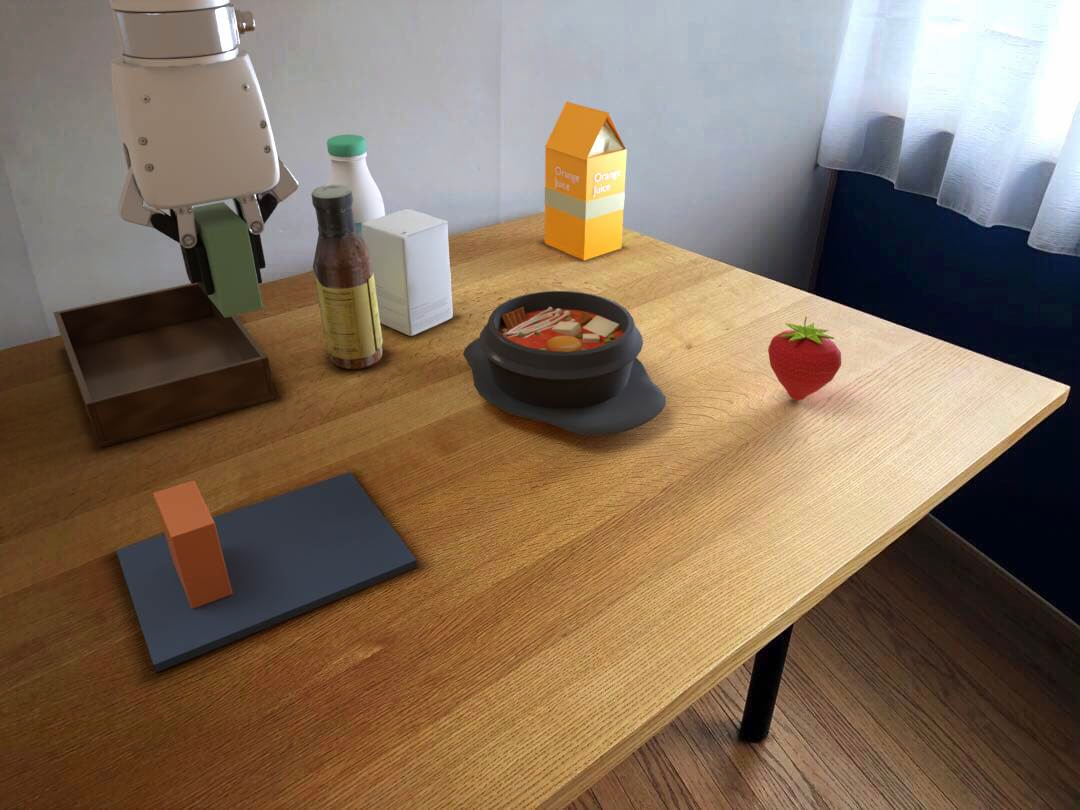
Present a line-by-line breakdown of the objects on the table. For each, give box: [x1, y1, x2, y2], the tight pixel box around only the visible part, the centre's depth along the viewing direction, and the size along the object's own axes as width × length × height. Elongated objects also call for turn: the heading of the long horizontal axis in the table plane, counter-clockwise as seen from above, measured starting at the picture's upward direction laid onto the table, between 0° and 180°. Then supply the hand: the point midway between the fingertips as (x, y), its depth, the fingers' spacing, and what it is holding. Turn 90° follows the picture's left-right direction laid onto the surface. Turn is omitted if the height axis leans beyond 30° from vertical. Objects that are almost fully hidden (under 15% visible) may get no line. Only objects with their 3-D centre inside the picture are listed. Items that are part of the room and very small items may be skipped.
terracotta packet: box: [153, 480, 232, 609], centre depth 65 cm, size 3×6×7 cm, turn 32°
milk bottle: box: [326, 134, 386, 240], centre depth 109 cm, size 8×8×20 cm
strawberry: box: [767, 315, 842, 401], centre depth 88 cm, size 6×8×10 cm
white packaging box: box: [362, 208, 454, 337], centre depth 104 cm, size 7×7×13 cm
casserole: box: [462, 290, 667, 437], centre depth 90 cm, size 25×19×8 cm
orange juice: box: [544, 101, 628, 261], centre depth 123 cm, size 8×9×20 cm
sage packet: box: [193, 201, 264, 318], centre depth 67 cm, size 3×6×7 cm, turn 33°
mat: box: [115, 471, 418, 673], centre depth 69 cm, size 20×14×1 cm
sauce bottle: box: [311, 185, 384, 370], centre depth 93 cm, size 6×6×20 cm
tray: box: [52, 282, 277, 449], centre depth 94 cm, size 17×23×5 cm
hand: (229, 281), depth 68 cm, fingers closed on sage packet, 3 cm apart
